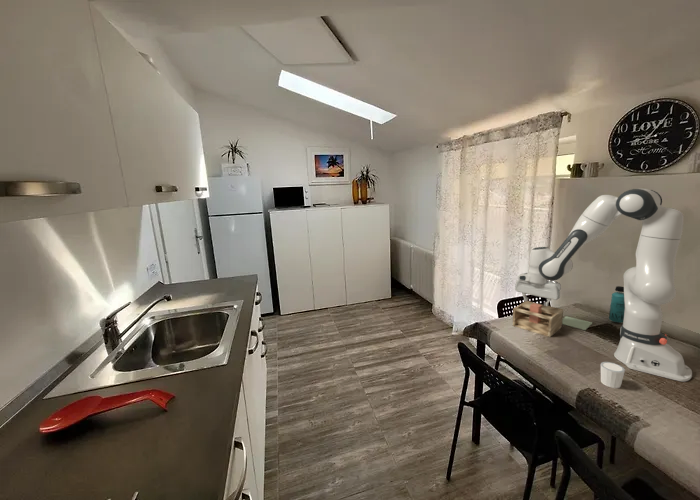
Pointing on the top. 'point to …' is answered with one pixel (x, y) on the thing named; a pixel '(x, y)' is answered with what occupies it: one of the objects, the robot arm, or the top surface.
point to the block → (536, 309)
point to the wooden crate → (549, 317)
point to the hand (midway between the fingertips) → (535, 303)
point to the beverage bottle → (617, 305)
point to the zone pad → (576, 323)
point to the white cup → (612, 374)
